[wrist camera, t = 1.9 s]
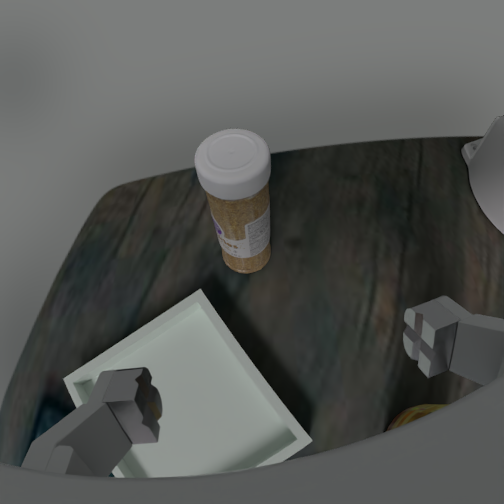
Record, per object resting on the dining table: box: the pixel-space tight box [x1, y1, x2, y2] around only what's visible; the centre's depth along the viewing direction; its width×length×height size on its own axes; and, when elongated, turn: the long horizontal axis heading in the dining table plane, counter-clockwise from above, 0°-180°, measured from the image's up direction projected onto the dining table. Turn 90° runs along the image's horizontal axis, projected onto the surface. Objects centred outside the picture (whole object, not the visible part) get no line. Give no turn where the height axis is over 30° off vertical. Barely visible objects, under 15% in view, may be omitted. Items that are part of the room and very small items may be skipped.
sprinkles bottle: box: [195, 129, 271, 273], centre depth 24 cm, size 5×5×13 cm
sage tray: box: [64, 289, 312, 478], centre depth 23 cm, size 15×15×2 cm
